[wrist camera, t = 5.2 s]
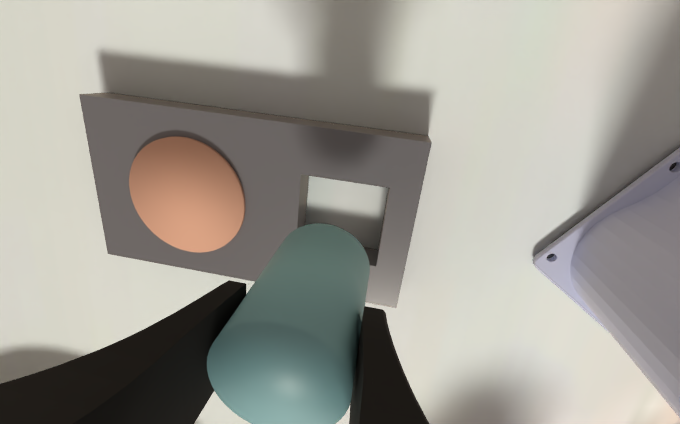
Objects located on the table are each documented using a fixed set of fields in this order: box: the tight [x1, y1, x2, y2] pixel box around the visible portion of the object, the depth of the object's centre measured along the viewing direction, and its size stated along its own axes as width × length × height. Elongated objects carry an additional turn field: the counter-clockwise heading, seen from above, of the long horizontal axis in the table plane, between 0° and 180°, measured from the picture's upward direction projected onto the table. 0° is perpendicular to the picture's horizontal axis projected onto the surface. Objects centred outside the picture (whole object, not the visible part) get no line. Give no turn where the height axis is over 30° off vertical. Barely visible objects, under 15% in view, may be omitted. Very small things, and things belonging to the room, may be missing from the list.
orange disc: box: [129, 136, 246, 253], centre depth 20 cm, size 7×7×1 cm
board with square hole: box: [79, 93, 431, 308], centre depth 20 cm, size 19×10×2 cm, turn 84°
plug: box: [207, 223, 370, 424], centre depth 12 cm, size 4×4×6 cm
